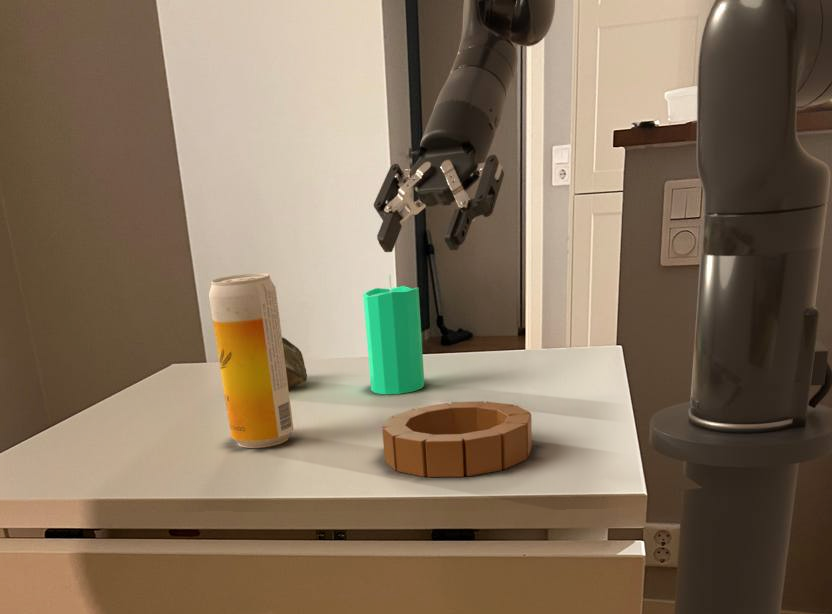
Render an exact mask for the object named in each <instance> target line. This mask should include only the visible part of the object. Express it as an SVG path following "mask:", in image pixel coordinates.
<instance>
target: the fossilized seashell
mask: <svg viewBox="0 0 832 614" xmlns="http://www.w3.org/2000/svg"><path fill="white" fill-rule="evenodd" d="M282 342H283V350H284V358H285V366H286V374H287V382H288V389H289V388H293V387H295V386H298V385H301V384H303V383H306V381H308V373H307V368H306V365H305V359H304V356H303V353H302V351H301V350H300V349H299V348H298V347H297V346H296V345H295V344H293V343H292V342H291V341H289V340H288V339H287V338H285V337H283V336H282Z"/></svg>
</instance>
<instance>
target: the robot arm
mask: <svg viewBox="0 0 832 614" xmlns="http://www.w3.org/2000/svg"><path fill="white" fill-rule="evenodd" d="M462 9H463V11H462V30H461V37H460V42H459V46H458V51H457V54H456V57H455V59H454V61H453V64H452V67H451V69H450V71H449V74H448V77H447V79H446V81H445V83H444V85H443V86H442V88H441V89H440V92H439V94H438V97H437V99H436V102H435V104H434V107H433V110H432V112H431V114H430V116H429V120H428V122H427V125H426V127H425V130H424V133H423V134H422V138H421V140H420V144H419V152H418V153H419V155H418V159H417V161H416V163H414V164H413V166H412V167H411V168H403V169H402V168H401V166H400V165H399V164H398V163H393V164H391V166H390V167H389V169H388V171H387V173H386V176H385V178H384V180H383V181H382V185H381V187H380V189H379V190H378V191H379V192H378V193H377V195H376V198H375V200H374V202H373V207H374V209H375V211H376V212H377V214H378V216H379V218H380V219H381V220H382V222H381V225H380V228H379V229H378V232H377V234H376V239H377V241H378V244H379V246H380V247H381V249H382V251H383V252H384V253H392V252H393V251H394V248H395V246H396V243H397V240H398V237H399V235H400V233H401V230H402V227H403V226H402V224H403V223H404V222H406V221H407V220H408V219H409V218H410V217H411V216H412V215H413V216H416V215H418V214H419V213H421V212H422V211H423V210H424V209H425V208H426V207H427V208H428V207H435V206H439V205H441V206H445V207H446V206H451V204H452V203H454V202H456V205H457V206H458V208H456V209H454V210H453V212H452V215H451V218H450V221H449V223H448V225H447V228H446V231H445V233H444V237H443V238H444V242H445V244H446V246H447V247H448V249H449V250H450V251H458V250H459V248H460V246H462V245H463V244H464V242H465V240H466V238H467V235H468V233H469V230H470V227H471V224H472V223H473V222H475V220H476V219H477V217H480V216H483V218H489V217H490V216H491V215H492V214H493V212H494V209H495V206H496V203H497V200H498V196H499V194H500V190H501V186H502V183H503V180H504V176H505V172H504V169H503V167H502V165H501V162H500V161H499V159H498V157H497V155H496V154H491V155H489V152H490V149H491V147H492V143H493V141H494V139H495V136H496V133H497V131H498V128H499V125H500V123H501V119H502V115H503V112H504V106H505V103H506V101H507V97H508V95H509V92H510V90H511V86H512V84H513V81H514V79H515V76H516V73H517V69H518V64H519V57H518V56H519V55H518V52H517V49H516V48H515V46H521V47H534V46H535V45H537V44H539V43H540V42H541V41H542V40H543V39H544V38H545V37H546V36H547V34H548V33H549V31H550V28H551V27H552V23H553V21H554V16H555V11H556V0H463V8H462ZM696 90H697V91H696V99H697V100H696V150H695V151H696V168H697V169H696V170H697V174H698V178H699V181H700V185H701V188H702V193H703V207H702V211H703V212H702V220H701V221H702V222H701V238H700V252H699V267H698V284H697V298H696V311H695V313H696V314H695V328H694V343H693V357H692V358H693V359H692V373H691V386H690V387H691V389H690V396H689V401H690V409H689V415H688V420H689V422H690V423H691V424H692V425H694V426H696V427H699V428H702V429H706V430H710V431H716V432H725V433H743V434H745V433H765V432H773V431H779V430H784V429H788V428H795V427H806V420H807V412H808V405H809V406H811V407H813V408H815V407H816V406H817V404H820V403H821V402H822V400H823V399H824V398H825V397H826V396H827V395H828V394H829V392H830V391H831V388H832V368H831V367H830V363H829V361H828V358H829V350H828V349H827V347H826V346H825V345H824V344H823V342H822V341H821V340H817V337H818V336H817V335H818V330H819V323H820V322H819V321H820V310H819V308H817V307H816V303H817V302H816V301H817V293H818V285H819V277H820V269H821V268H820V267H821V260H822V252H823V243H824V235H825V227H826V218H827V210H828V204H827V203H828V201H829V195H830V188H831V187H830V186H831V171H830V167H829V165H828V164H827V163H826V162H824V161H822V160H820V159H818V158H816V157H814V156H813V155H811V154H810V153H808V151H806V149H805V148H803V146H802V145H801V143H800V140H799V137H798V134H797V133H798V132H797V110H798V109H804V108H805V109H806V108H810V107H815V106H817V105H818V106H819V105H821V104H825V103H827V102H829V101H832V0H715V1H714V2H713V4H712V5H711V8H710V10H709V13H708V16H707V17H706V21H705V24H704V27H703V31H702V35H701V41H700V46H699V53H698V64H697V87H696ZM488 155H489V156H488ZM478 181H479V182H478ZM477 182H478V185H477V189H476V191H475V195H474V198H470V197H469V194H468V192H467V191H468V190H469V189H470V188H472V186H474V184H476V183H477ZM413 191H414V192H415V195H416V196H417V198H418V199H417V200H415V201H414V200H413V199H414V198H413V197H412V195H411V194H412V192H413ZM404 204H405V206H404V207H403V208H402V209H401V210H400V211H399V210H398V209H399V208H401V207H402V205H404ZM812 386H820V388H819V389H818V390H817V391H816V393H815V394H813V396H812V397H811V398H810V395H811V387H812Z"/></svg>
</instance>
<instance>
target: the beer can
mask: <svg viewBox="0 0 832 614" xmlns="http://www.w3.org/2000/svg"><path fill="white" fill-rule="evenodd" d="M210 283H211V286H210V289H209V293H208V298H209V299H208V300H209V304H210V305H209V306H210V311H211V317H212V322H213V331H214V336H215V342H216V350H217V356H218V362H219V368H220V374H221V381H222V388H223V394H224V400H225V407H226V412H227V419H228V425H229V432H230V437H231V438H232V440H234V441H235V442H237V445H238V446H239V447H241V448H245V449H264V448H270V447H275V446H278V445H281V444H284V443H285V442H287V441H288V440H289V439H290V435H291V434H292V432H293V431H294V423H293V414H292V406H291V399H290V398H291V397H290V392H289V388H288V382H287V374H286V366H285V358H284V350H283V342H282V337H283V335H282V328H281V320H280V313H279V304H278V297H277V289H276V286H275V284H274V282H273V281H272V279H271V277H270V274H269V273H263V272H260V273H259V272H258V273H245V274H235V275H228V276H223V277H218V278H215V279H212V280H211V282H210Z"/></svg>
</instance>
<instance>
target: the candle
mask: <svg viewBox="0 0 832 614" xmlns="http://www.w3.org/2000/svg"><path fill="white" fill-rule="evenodd" d="M391 280H392V279H391V274H388V282H389V283H388V284H389V288H380V287H375V288H372V289H370V290H366V291H364V293H362V298H363V309H364V320H365V331H366V333H365V334H366V346H367V355H368V367H369V368H368V369H369V380H370V391H371V392H373V393H375V394H379V395H380V394H381V395H401V394H406V393H413V392H415V391H419V390H421V389H423V387H424V386H425V372H424V355H423V339H422V337H423V336H422V322H421V321H422V319H421V306H420V288H419V287H413V288H412V287H408V286H405V285H400V286H396V287H392V281H391Z"/></svg>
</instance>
